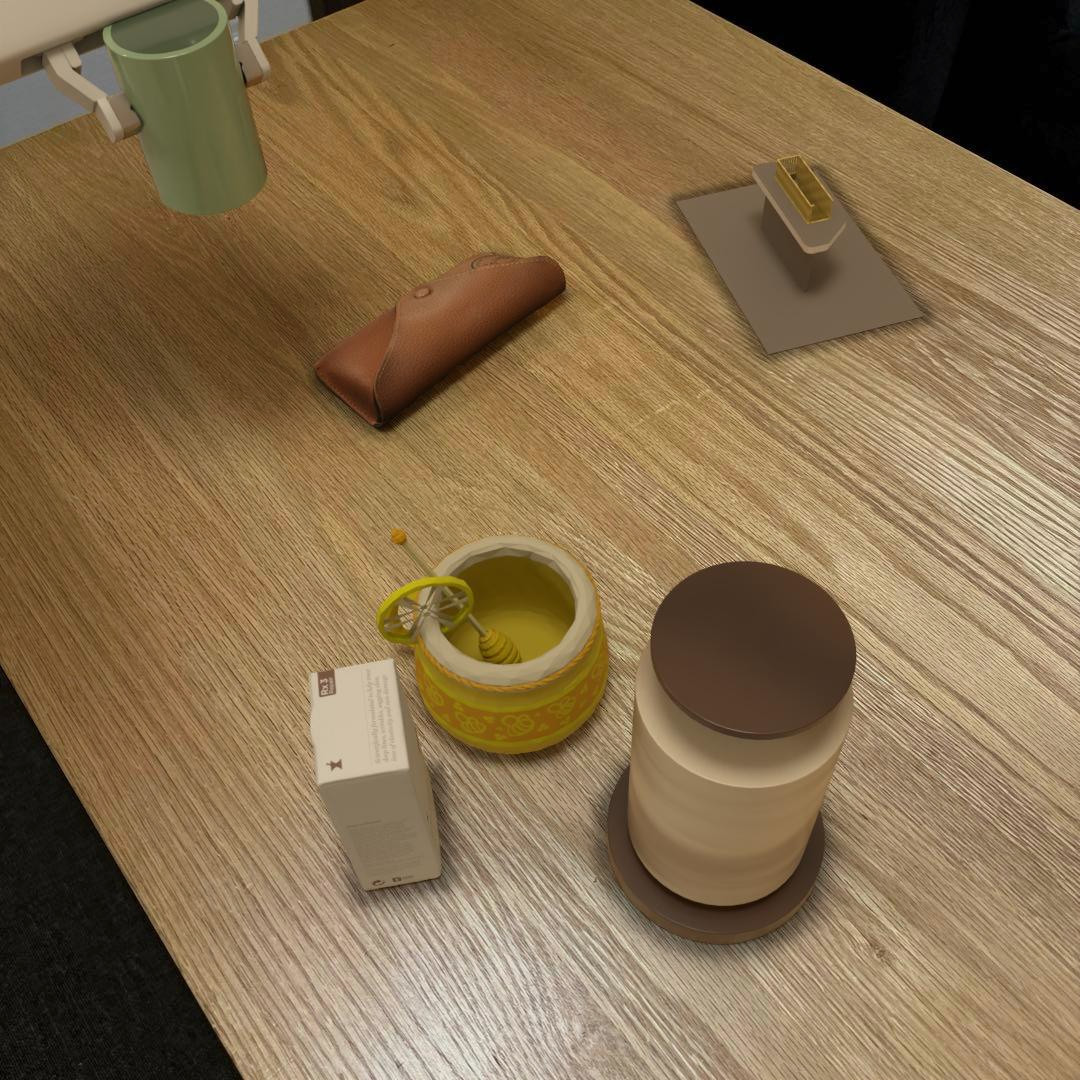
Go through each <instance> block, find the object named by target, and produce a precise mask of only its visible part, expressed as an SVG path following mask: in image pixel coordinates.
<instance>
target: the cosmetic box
mask: <svg viewBox="0 0 1080 1080" xmlns="http://www.w3.org/2000/svg"><path fill="white" fill-rule="evenodd" d="M397 668H398V667H397V665H396V661H395V659H394V658H393V657H391V658H386V659H382V660H376V661H370V662H365V663H359V664H354V665H348V666H343V667H338V668H332V669H327V670H321V671H316V672H315V671H314V672H311V673H309V674H308V691H309V702H310V703H309V704H310V705H309V706H310V718H309V728H310V730H309V731H310V736H311V737H310V738H311V741H312V749H313V763H314V773H315V774H314V775H315V787H316V789H317V791H318V794H319V795H320V798H321V800H322V802H323V804H324V807H325V809H326V811H327V813H328V815H329V817H330V820H331V822H332V823H333V826H334V827H335V830H336V832H337V835H338V837H339V838H340V842H341V843H342V846H343V849H344V851H345V852H346V856H347V858H348V859H349V861H350V864H351V866H352V869H353V871H354V874H355V876H356V877H357V880H358V881H359V882H358V883H359V885H360V886H361V888H362V890H364V891H371V890H377V889H382V888H390V887H394V886H399V885H400V886H401V885H406V884H411V883H416V882H421V881H427V880H433V879H438V878H439V877H440V876H441V874H442V856H441V844H440V843H441V842H440V832H439V825H438V818H437V811H436V806H435V798H434V792H433V788H432V784H431V778H430V774H429V770H428V766H427V763H426V759H425V756H424V753H423V750H422V747H421V742H420V740H419V737H418V733H417V729H416V725H415V722H414V718H413V715H412V712H411V709H410V705H409V703H408V699H407V695H406V692H405V690H404V687H403V684H402V681H401V679H400V678H401V677H400V675H399V672H398V669H397Z"/></svg>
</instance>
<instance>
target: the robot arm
mask: <svg viewBox="0 0 1080 1080" xmlns="http://www.w3.org/2000/svg"><path fill="white" fill-rule="evenodd" d="M171 1H174V0H0V87H2V86H4V85H7V84H10V83H12V82H14V81H17V80H20V79H22V78H25V77H28V76H30V75H32V74H36V73H38V72H40V71H43V70H44V71H45V73H46V74H47V76H48V78H49V79H50V81H51V83H52V85H53V87H54V88H55V90H56V91H58V92H59V93H60V94H62V95H64V96H65V97H66V98H69V99H70V100H71V101H73V102H74V103H76V104H77V105H79V106H80V107H81V108H84V109H85V110H87V112H89V113H91V114H95V116H96V118H97V119H98V121H99V123H100V125H101V127H102V128H103V130H104V132H105V134H106V135H107V138H108V139H109V141H111V143H112V144H113V145H115V144H117V143H120V142H122V141H124V140H127V139H129V138H132V137H134V136H137V135H136V134H139V133H140V129H141V128H142V124H141V122H140V119H139V117H138V115H137V113H136V112H135V111H133V110H131V103H130V101H129V100H128V98H127V97H126V95H125V93H124V91H123V92H120V91H119V92H118V93H115V94H112V95H109V94H107V93H106V92H105V91H103V90H101V88H99V87H98V86H96V85H94V84H93V83H92V82H90V81H89V80H88V79H86V78H85V77H83V76H82V68H83V60H82V59H81V56H82V55H85V54H87V53H90V52H93V51H95V50H98V49H100V48H104V47H106V46H105V43H104V40H103V29H104V27H105V26H108V25H111V24H113V23H116V22H118V21H121V20H124V19H126V18H129V17H131V16H134V15H137V14H139V13H142V12H145V11H147V10H150V9H153V8H155V7H158V6H160V5H163V4H166V3H168V2H171ZM216 1H217V2H219V3H220V4H221V5H222V6H223V7H224V9H225V10H226V12H227V16H228V20H229V22H230V21H233V20H236V18H237V27H238V28H237V35H238V36H237V37H238V39H237V40H238V42H237V45H235V47H236V51H237V55H238V59H239V63H240V66H241V70H242V74H243V78H244V82H245V86H246V89H249V88H251V87H254V86H257V85H259V84H262V83H264V82H266V81H268V80H269V79H270V77H271V75H272V68H271V64H270V62H269V61H268V59H267V57H266V55H265V53H264V51H263V49H262V47H261V45H260V43H259V41H258V37H259V0H216Z"/></svg>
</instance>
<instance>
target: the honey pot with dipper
mask: <svg viewBox="0 0 1080 1080" xmlns="http://www.w3.org/2000/svg"><path fill="white" fill-rule="evenodd" d="M389 534H390V536H391V537H390V540H391V542H392V543H393V544H395V545H399V546H401V547H402V548H403V549H404V550H405V551H406V552H407V554H408V555H409V556H410V557H411V558H412V560H414V562H415V563H416V564H417V565H418V566H419V567H420V569H421V570H422V571H423V572H424V573H425V574H426V575H425V576H424V577H422V578H419V579H416V580H413V581H411V582H409V583H407V584H405V585H404V586H401V587H400V588H398V589H396V590H395V591H393V592H391V594H390V595H388V596H387V597H386V599H385V600H384V601H383V602H382V603H381V604H380V605H379V608H378V610H377V612H376V615H375V624H376V627H377V629H378V633H379V634H380V635H381V636H382V638H383V639H384V640H386V641H387V642H389V643H392V644H398V645H404V646H407V647H409V648H412V649H414V650H413V653H414V654H413V655H414V672H415V673H414V674H415V679H416V683H417V687H418V691H419V695H420V697H421V699H422V701H423V705H424V707H425V708H426V709H427V711H428V712H429V714H430V715H431V717H432V718H433V720H434V721H435V722H436V723H437V724H438V725H439V726H440V727H442V728H443V729H444V730H445V731H446V732H447V733H448V734H449V735H450V736H452V737H453V738H455V739H457V740H458V741H460V742H462V743H464V744H465V745H467V746H470V747H473V748H476V749H479V750H481V751H484V752H486V753H493V754H504V755H505V754H506V755H517V754H525V753H531V752H538V751H541V750H543V749H546V748H548V747H550V746H554V745H555V744H558V743H560V742H562V741H563V740H565V739H566V738H568V737H569V736H570V735H572V734H573V733H575V732H576V731H578V729H579V728H580V727H582V725H583V724H584V723H585V722H587V720H588V719H590V717H591V716H592V715H593V714H594V711H596V708H597V706H598V705H599V703H600V701H601V700H602V698H603V696H604V694H605V689H606V685H607V681H608V677H609V671H610V649H609V644H608V640H607V639H608V638H607V634H606V629H605V626H604V620H603V616H602V602H601V598H600V597H601V596H600V595H599V592H598V591H599V590H598V588H597V586H596V582H595V580H594V578H593V577H592V573H591V572H590V571H589V569H588V568H587V567H586V566H585V565H584V563H582V562H581V560H580V559H579V558H577V557H575V556H574V555H573V554H572V553H570V552H569V551H568V550H567V549H565V548H564V547H561V546H560V545H559V544H557V543H554V542H552V541H550V540H546V539H543V538H540V537H535V536H531V535H523V534H512V533H506V534H504V533H501V534H495V535H491V536H490V535H489V536H486V537H481V538H478V539H475V540H472V541H468V542H466V543H464V544H462V545H459V546H457V547H456V548H454V549H453V550H450V551H449V552H448V554H446V555H444V556H443V557H442V558H441V559H440V560H439V561H438V562H437V563H435V564H434V566H433V567H432V568H431V566H430V565H429V564H428V563H427V562H426V561H425V559H424V558H423V557H422V556H421V555H420V554H419V553H418V552H417V550H416V549H415V548H414V547H413V546H412V544H411V543H410V542H409V541H408V539H407V534H406V532H405V531H404V530H403V529H399V528H393V529H392V530H391V531H390V533H389ZM400 607H403V608H406V609H410V610H412V611H408V612H404V613H402V614H399V608H400ZM412 613H413V614H412ZM410 614H412V618H410V619H407V620H403V621H401V618H404V617H405V616H408V615H410ZM409 622H412V625H411V627H410V629H408V628H406V627H404V625H406V624H407V623H409Z"/></svg>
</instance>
